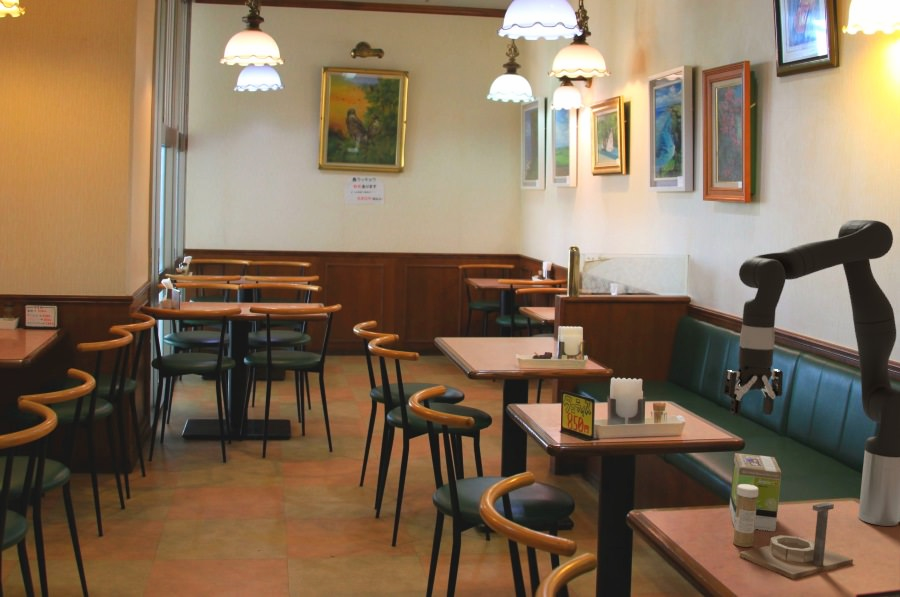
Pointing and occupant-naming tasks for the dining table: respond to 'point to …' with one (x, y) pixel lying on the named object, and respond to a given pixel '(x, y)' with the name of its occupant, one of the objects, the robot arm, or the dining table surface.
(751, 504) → the sprinkles bottle
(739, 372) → the robot arm
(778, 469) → the tea box
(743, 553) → the socket base
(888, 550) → the dining table surface
